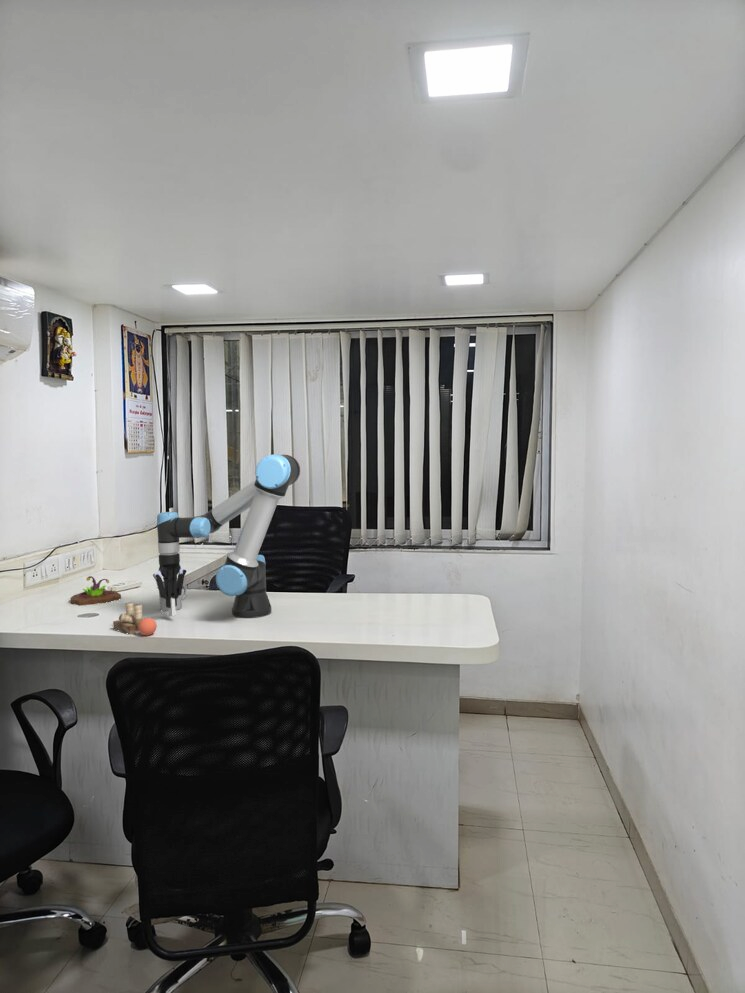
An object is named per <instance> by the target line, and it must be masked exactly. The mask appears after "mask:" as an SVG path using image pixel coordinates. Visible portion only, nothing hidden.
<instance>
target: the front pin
mask: <svg viewBox="0 0 745 993" xmlns="http://www.w3.org/2000/svg"><path fill="white" fill-rule="evenodd" d="M118 620H119V621H123V622H126V623H129V624H133V625H135V616H134V617H132V616H129V615H126V613H120V614H119V617H118Z"/></svg>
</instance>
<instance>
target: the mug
mask: <svg viewBox="0 0 745 993" xmlns="http://www.w3.org/2000/svg"><path fill="white" fill-rule="evenodd" d="M162 581H163V585H164V580H162ZM182 590H183V595H182V594H181V595H180V596H178V598H177V606H175V610H176V611H179V610H181V609H182V607H183V606H182V605H183V604H182V601H183V600H186V598H187V595H188V593H187V592H188V591H187V586H186V585H185V584H184V583H183V587H182ZM158 593H159V592H158ZM158 596H159V598H158V600H159V611H161V610H162V611H161V612H168V608H167V607H166V599H165V598H161V597H160V593H159V595H158ZM171 598H172V597H171ZM178 609H179V610H178Z"/></svg>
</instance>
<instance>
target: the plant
mask: <svg viewBox="0 0 745 993" xmlns="http://www.w3.org/2000/svg"><path fill="white" fill-rule="evenodd" d="M91 579H92V583H93V584H92V585H91V586H90V587H88V586H86V589H85V588H82V590H83V592H80V593H76V594H74V595H72V596H71V597H70V600H69V601H70V604H71V605H75V606H88V605H89V606H90V605H98V603H99V604H107V603H112V602H111V601H113V602H114V600H115V601H120V600H121V599H122V595H121V593H119V592H118V591H116V590H115V591H114V590H113V589H112V590H108V589H106V586H107V585H102V586H101V583H102V581H105V582H106V583H107V584H109V583H110V579H108V578H102V579H100V580H99V581H98V582H96V579H95V577H93V576H91V575H90V576H86V579H85V580H86V581H90V580H91ZM100 586H101V587H100ZM119 599H120V600H119ZM106 602H107V603H106Z"/></svg>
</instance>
